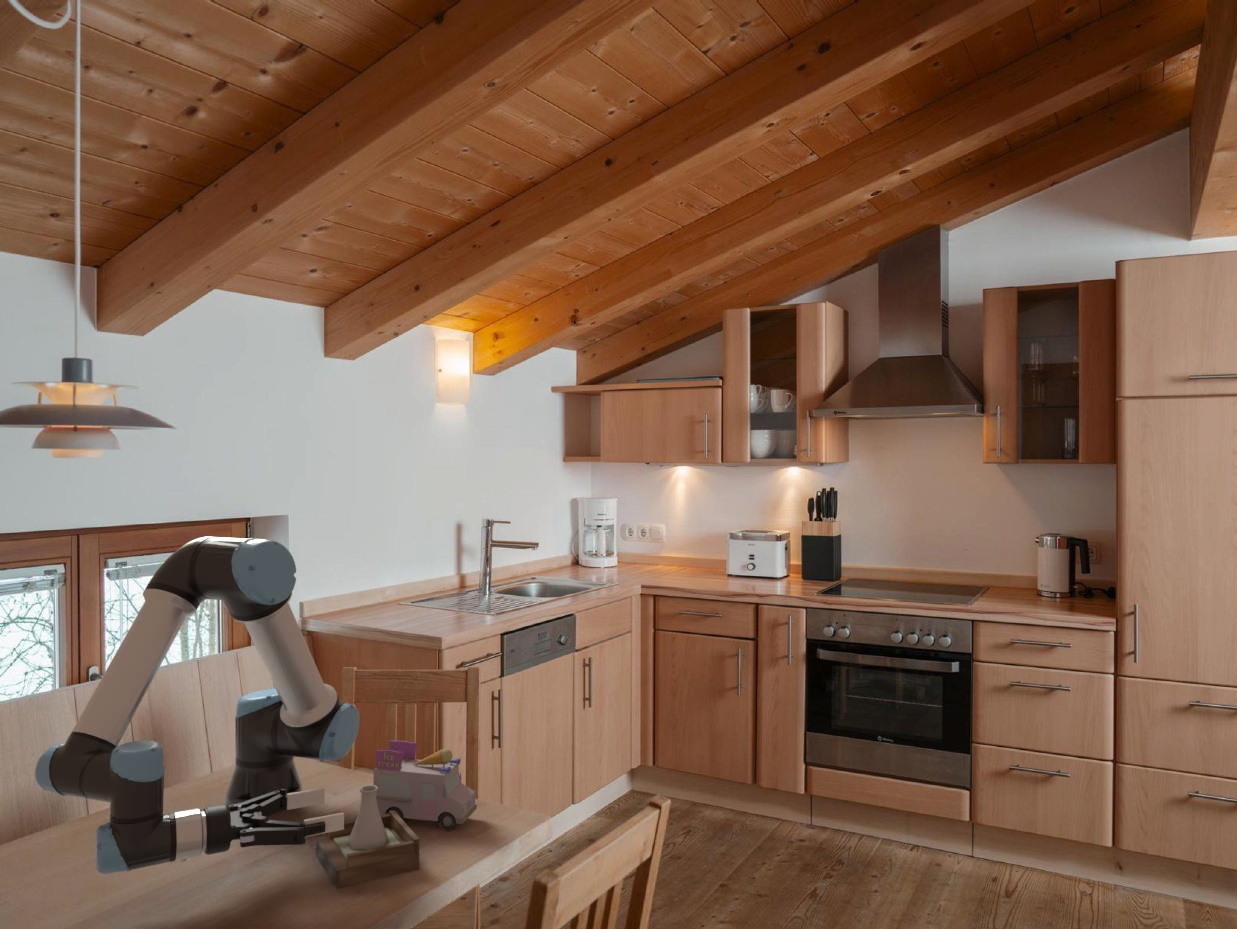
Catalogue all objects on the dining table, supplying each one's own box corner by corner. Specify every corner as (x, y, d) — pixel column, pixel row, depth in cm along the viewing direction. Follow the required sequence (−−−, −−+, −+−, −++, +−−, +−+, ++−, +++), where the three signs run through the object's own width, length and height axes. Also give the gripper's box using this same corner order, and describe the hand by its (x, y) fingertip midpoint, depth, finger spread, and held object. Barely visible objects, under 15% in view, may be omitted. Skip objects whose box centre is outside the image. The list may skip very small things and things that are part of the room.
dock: (315, 854, 167) (316, 824, 167) (393, 838, 174) (394, 810, 174) (335, 888, 154) (336, 856, 154) (419, 869, 162) (419, 838, 162)
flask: (389, 849, 162) (390, 793, 162) (346, 853, 160) (347, 796, 160) (388, 833, 169) (389, 779, 169) (347, 836, 167) (348, 782, 167)
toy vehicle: (461, 835, 177) (462, 758, 177) (368, 825, 181) (370, 750, 181) (477, 817, 186) (479, 744, 186) (389, 808, 190) (390, 736, 190)
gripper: (193, 827, 160) (316, 805, 171) (213, 884, 139) (352, 855, 150) (194, 785, 160) (317, 765, 171) (214, 836, 139) (352, 810, 150)
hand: (333, 807), depth 161 cm, fingers open, 13 cm apart
